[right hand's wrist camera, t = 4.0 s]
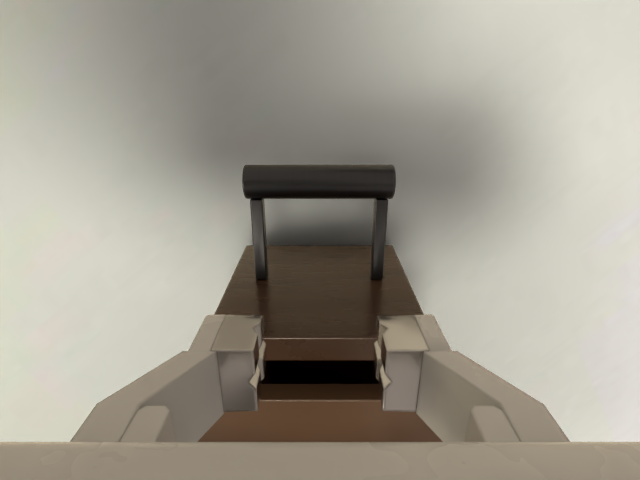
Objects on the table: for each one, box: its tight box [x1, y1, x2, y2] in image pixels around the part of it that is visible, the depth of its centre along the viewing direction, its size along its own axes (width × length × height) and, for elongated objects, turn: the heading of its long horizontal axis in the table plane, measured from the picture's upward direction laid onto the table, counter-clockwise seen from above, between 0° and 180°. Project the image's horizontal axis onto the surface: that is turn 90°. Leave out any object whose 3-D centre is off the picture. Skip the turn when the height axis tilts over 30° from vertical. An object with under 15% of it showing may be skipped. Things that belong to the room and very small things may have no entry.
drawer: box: [214, 165, 424, 384], centre depth 22 cm, size 24×9×10 cm, turn 0°
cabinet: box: [198, 384, 443, 442], centre depth 24 cm, size 19×10×12 cm, turn 0°
